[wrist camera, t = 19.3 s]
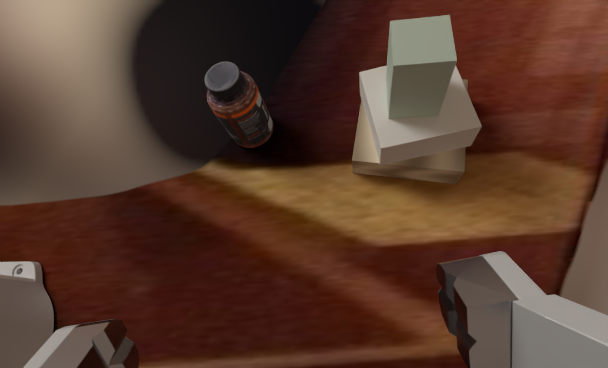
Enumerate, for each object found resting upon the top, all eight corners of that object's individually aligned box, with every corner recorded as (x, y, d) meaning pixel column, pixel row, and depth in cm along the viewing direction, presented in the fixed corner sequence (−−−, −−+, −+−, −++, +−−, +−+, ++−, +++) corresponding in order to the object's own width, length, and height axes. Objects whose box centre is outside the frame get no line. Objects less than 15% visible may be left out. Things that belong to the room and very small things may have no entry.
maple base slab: (353, 174, 43) (351, 160, 40) (365, 94, 47) (365, 75, 44) (456, 185, 40) (464, 171, 37) (459, 100, 45) (467, 79, 41)
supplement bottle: (282, 121, 47) (259, 64, 37) (259, 156, 46) (227, 106, 35) (248, 106, 49) (216, 47, 39) (224, 139, 48) (185, 87, 37)
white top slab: (379, 165, 39) (380, 148, 35) (360, 94, 43) (359, 72, 39) (470, 145, 38) (481, 126, 34) (442, 74, 42) (449, 50, 38)
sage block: (388, 118, 36) (393, 65, 29) (385, 79, 38) (390, 21, 31) (438, 115, 35) (456, 60, 28) (433, 76, 37) (449, 14, 30)
